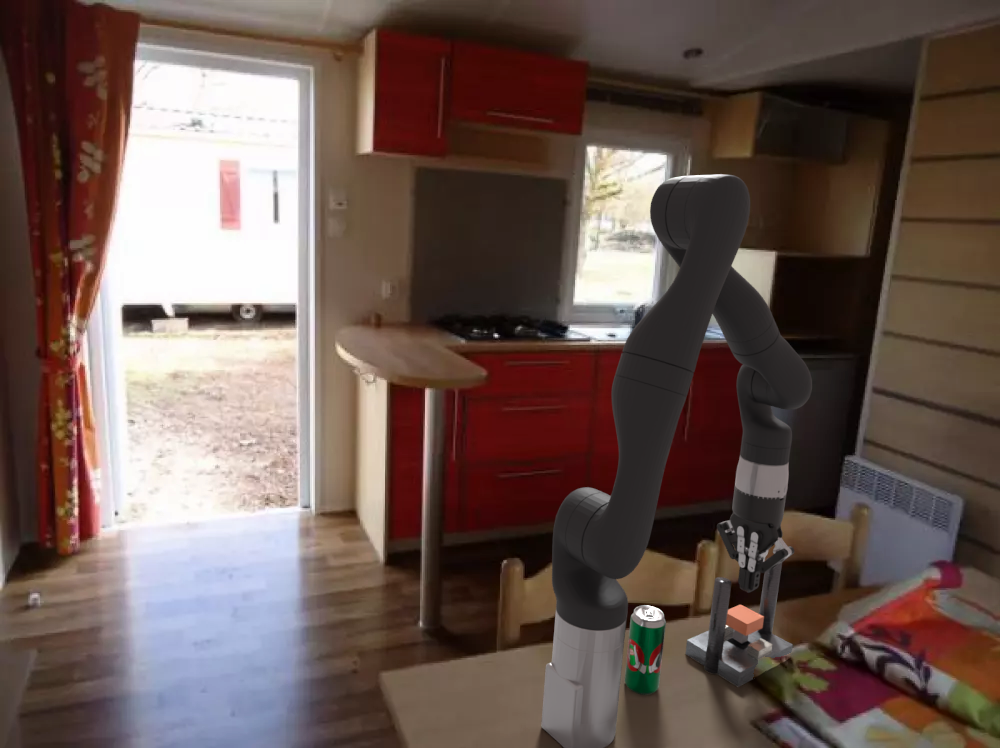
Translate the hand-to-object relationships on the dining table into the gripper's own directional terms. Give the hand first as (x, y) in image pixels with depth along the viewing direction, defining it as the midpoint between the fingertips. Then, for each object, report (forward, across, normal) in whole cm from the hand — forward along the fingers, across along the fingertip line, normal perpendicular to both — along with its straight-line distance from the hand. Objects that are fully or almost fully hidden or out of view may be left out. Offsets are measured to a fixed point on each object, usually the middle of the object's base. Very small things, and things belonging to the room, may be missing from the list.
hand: (747, 589), depth 113 cm
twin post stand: (+12, 0, 0) cm, 12 cm away
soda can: (+12, -3, -20) cm, 23 cm away
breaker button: (+9, 0, 0) cm, 9 cm away
